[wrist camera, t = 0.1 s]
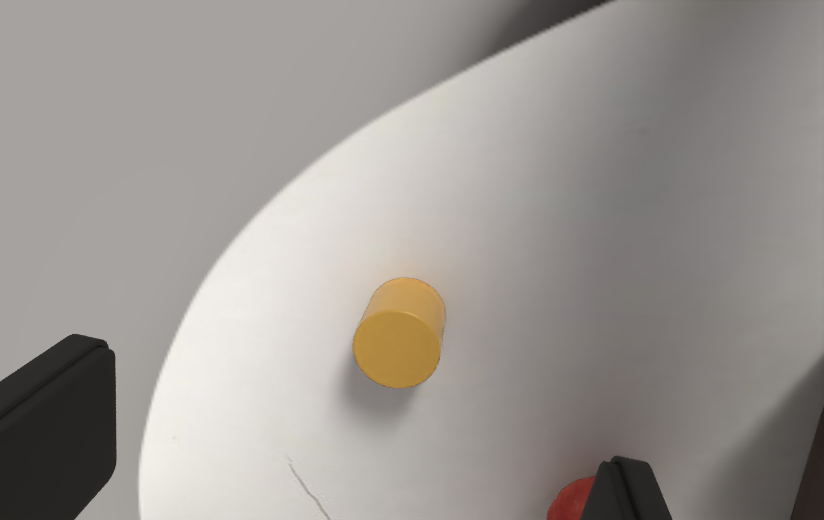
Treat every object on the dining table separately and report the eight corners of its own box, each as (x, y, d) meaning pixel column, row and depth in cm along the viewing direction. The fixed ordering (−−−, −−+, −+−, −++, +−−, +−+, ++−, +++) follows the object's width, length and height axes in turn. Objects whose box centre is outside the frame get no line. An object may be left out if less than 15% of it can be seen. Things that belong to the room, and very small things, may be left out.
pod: (375, 269, 28) (358, 301, 25) (453, 286, 28) (448, 321, 24) (363, 338, 30) (346, 378, 26) (437, 354, 30) (431, 397, 26)
